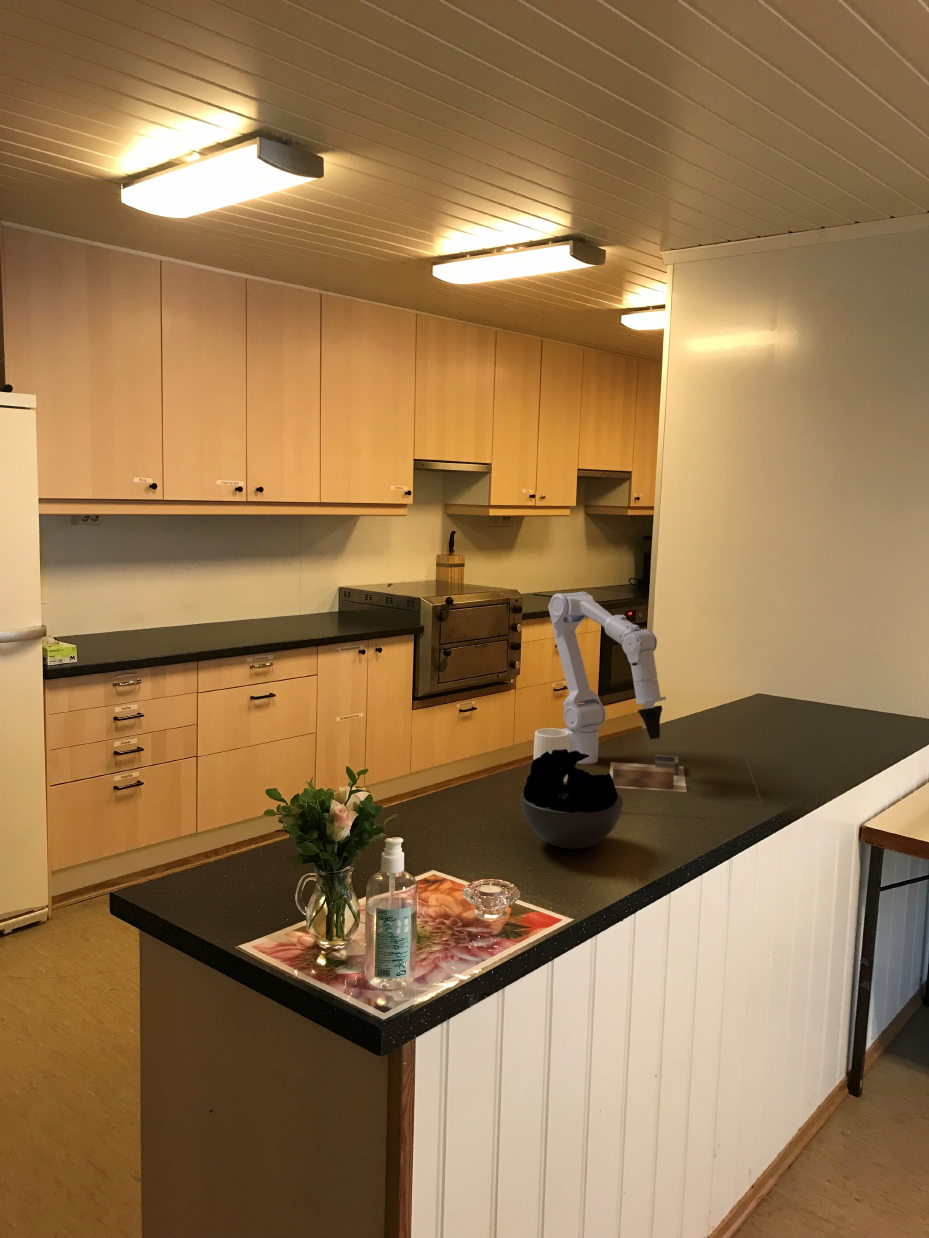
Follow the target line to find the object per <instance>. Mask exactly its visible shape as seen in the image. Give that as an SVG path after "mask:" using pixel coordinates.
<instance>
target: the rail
mask: <svg viewBox="0 0 929 1238" xmlns="http://www.w3.org/2000/svg"><path fill="white" fill-rule="evenodd" d="M613 782H614V785H615V786H630V787H647V788H663V789H673V782H674V769H673V768H658V767H641V766H623V765H613Z"/></svg>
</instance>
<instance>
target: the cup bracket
mask: <svg viewBox="0 0 929 1238" xmlns="http://www.w3.org/2000/svg"><path fill="white" fill-rule="evenodd" d="M654 755H655V756H654V765H655V767H658V768H673V769H674V775H675V776H679V766H680V761H679V756H677V755H663V754H659V755H658V754H654Z"/></svg>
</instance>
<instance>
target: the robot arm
mask: <svg viewBox="0 0 929 1238" xmlns="http://www.w3.org/2000/svg"><path fill="white" fill-rule="evenodd" d="M547 608H548V612H549V616H550V619H551V623H552V632H553V636H554V640H555V643H556V647H557V651H558V654H559V655H558V656H559V659H560V663H561V664H560V665H561V666H562V671H563V675H564V678H565V682H566V687H567V691H568V696H567V697H566V698H565V699H564V701H563V702H562V704H563V705H562V706H563V720H564V723H565V725H566V726H567V727H562V730H566V731H568V732H569V740H570V752H571V751H579V752H580V753H581V754H586V755H589V757H587V758H585V759H583V760H581V761H578V762H577V763H576V764H583V765H586V764H587V765H588V764H589V765H591V764H595V763H597V762H598V761H599V760H598V759H599V757H598V756H599V729H601V727H602V724H604V722H605V721H606V717H607V715H606V709H605V707H604V705H603V703H602V702H601V699H600V697H599V695H598V694H597V693H596V692H594V691H593V690H592V689H590V685H589V684H590V683H589V681H588V677H587V674H586V669H585V666H584V660H583V656H582V653H581V651H580V646H579V642H578V638H577V634H576V630H577V628H578V626H579V625H580V624H581V623H582V622H583V621H584V620H585V618H589V619H590V620H592V621H593V622H595V623H597V624H598V625H600V626H602V627H603V628H604V633H605V634H606V636H609V637H610V638H611V639H613V640H614V641H615V642H617V643H619V644H620V645H621V647H622V650H623V652H624V653H625V654H626V656H627V661H628V662H629V664H630V669H631V673H632V681H633V686H634V687H633V688H634V695H635V699H636V700H635V704H636V705H644V706H645V708H641V709H638V710H637V712H638V714H639V715H640V717H641V719H642V721H643V723H644V725H645V728H646V732H647V734H648V737H649V739H650V740H656V739H657V740H658V739H660V736H661V735H660V734H661V733H660V732H661V726H660V723H661V717H662V716H661V715H662V712H663V706H662V705H655V704H656V703H659V702H662V701H665V700H667V699H666V698H667V697H666V696H662V697H661V691H660V685H659V679H658V673H657V672H658V671H657V667H656V659H655V655H654V652H655V650H656V649H657V646H658V639H657V636H656V635H655V633H654V632H653V631H652V630H651V629H649V628H646V629H645V628H644V629H642V628H640V626H639V625H637V624H634V623H632V622H631V621H630V620H628V619H627V616H625V615H624V614H615V615H612V614H611V613H610V612H609V611H607V610H606V609H605V608H604V607H602V606H601V605H600V604H599V603H598V602H596V601H595V600H594V596H593V595H591V594H589V593H587V591H578V592H568V593H560V592H559V593H555V594H553V596H552V597H551V599H550V602H549V604H548V605H547Z"/></svg>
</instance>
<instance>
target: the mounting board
mask: <svg viewBox="0 0 929 1238" xmlns="http://www.w3.org/2000/svg"><path fill="white" fill-rule="evenodd" d="M613 765H623V766H641V767H655V764H647V763H645V764H644V763H643V764H642V763H632V762H631V763H628V762H613V761H611V762H610V768H609V774H611V776H612V779H613ZM685 776H686V775H685V769H684V766H681V765H679V776H675V775H674V782H673V789H663V788H647V787H630V786H615V788H617V789H618V788H620V789H632V790H633V789H635V790H649V791H650V790H651V791H652V790H653V791H666V792H667V791H668V792H681V793H683V792H685V793H687V785H686V777H685Z"/></svg>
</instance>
